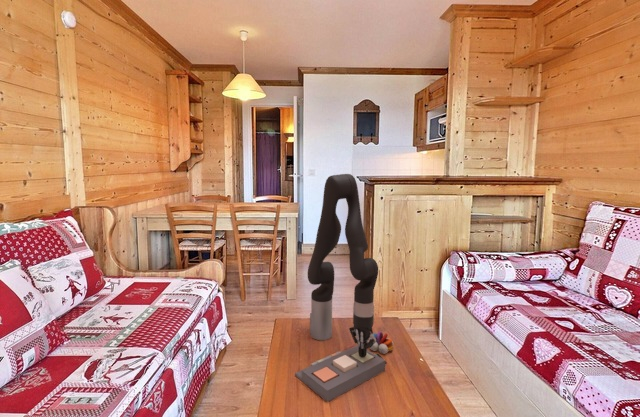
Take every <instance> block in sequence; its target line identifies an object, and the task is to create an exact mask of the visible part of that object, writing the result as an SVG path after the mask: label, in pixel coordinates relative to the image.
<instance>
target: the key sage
mask: <svg viewBox="0 0 640 417" xmlns="http://www.w3.org/2000/svg"><path fill="white" fill-rule="evenodd" d="M351 357H352V358H353V359H355V360H357V361H358V362H360V363H361V364H364V363H366V362H368V361H370V360H372V359H374V357H373V356H372V355H370V354H368V353H367V355H366V356H365V357H363V358H362V357H360V356H359V353H358V352H357V353H355V354H353V355H351Z"/></svg>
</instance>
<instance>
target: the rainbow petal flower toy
mask: <svg viewBox="0 0 640 417" xmlns="http://www.w3.org/2000/svg"><path fill="white" fill-rule="evenodd" d="M373 336H374V337H377V339H378V340H377V341H376V342H375V343H374V344H373V345H372V347H370V348H369V349H370V351H371V352H372V351H374V352H377V351H379V353H380V354H382V355H383V354H384V355H385V354H387V353H388V352H389V351H390V352H391V351H392V350H393V346H394V342H393V339H392V338H388V336H389V335H388V333H383V332H382V331H378V332H376V333H375V332H373Z"/></svg>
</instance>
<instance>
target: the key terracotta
mask: <svg viewBox="0 0 640 417" xmlns="http://www.w3.org/2000/svg"><path fill="white" fill-rule="evenodd" d="M313 375H314V376H315V377H316V378H318V379H319V380H320V381H322V382H323V383H326V382H328V381H330V380H332V379H334V378H336V377H338V374H336V373H335V372H333V371H332V370H331V369H329V368H328V367H325V368H322V369H320V370H318V371H316V372H314V373H313Z"/></svg>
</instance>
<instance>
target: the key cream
mask: <svg viewBox="0 0 640 417" xmlns="http://www.w3.org/2000/svg"><path fill="white" fill-rule="evenodd" d="M333 366H334V367H336V368H337V369H339V370H340V371H341V372H343V373H346V372H348V371H350V370H352V369H354V368H356V367H357V362H356V361H354V360H353V359H351V358H349V357H348V356H346V355H344V356H342V357H339V358H337V359H335V360H333Z"/></svg>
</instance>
